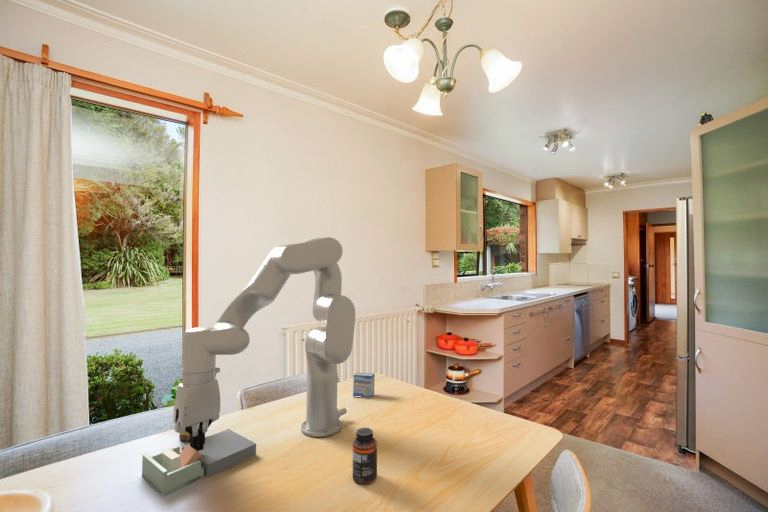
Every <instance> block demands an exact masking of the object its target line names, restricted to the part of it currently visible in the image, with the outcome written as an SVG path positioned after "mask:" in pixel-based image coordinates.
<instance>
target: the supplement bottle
mask: <svg viewBox="0 0 768 512" xmlns="http://www.w3.org/2000/svg"><path fill="white" fill-rule="evenodd" d="M355 435H356V437H355V438H354V440H353V441H352V480H353V481H354V482H355V483H356V484H358V485H364V486H365V485H369V484H372V483H374V482H375V481H376V480H377V477H378V443H377V439H375V438H374V430H373V429H372V428H370V427H360V428H359V429H357V430H356V434H355Z"/></svg>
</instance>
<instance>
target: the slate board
mask: <svg viewBox="0 0 768 512" xmlns="http://www.w3.org/2000/svg"><path fill="white" fill-rule="evenodd" d="M186 445H189V446H190V443H187V444H184V445H182V446H181V451H182V450H183V449H184V448H185V446H186ZM198 452H199V453H201V454H202V455H201V457H200V458H199V459H198V460H200V461H201V466H202V467H203V468H204V476H206V477H207V478H210V477H211V476H213V475H216V474H218V473H220V472H222V471H225V470H227V469H229V468H231V467H233V466H235V465H237V464H240V463H241V462H244V461H247V460H248V459H250V458H252V457H254V456H256V455H257V443H256V442H255V441H252V440H250V439H248V438H246V437H245V436H243V435H241V434H239V433H237V432H235V431H233V430H231V429H230V428H228V429H225V430H222V431H219V432H217V433H214V434H212V435H209V436H205V444H204V449H203V450H199V451H198ZM198 460H197V461H198Z"/></svg>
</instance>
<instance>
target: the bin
mask: <svg viewBox="0 0 768 512" xmlns="http://www.w3.org/2000/svg"><path fill="white" fill-rule="evenodd" d="M168 450H173V451H174V452H176V453H177V454H180V452H181V445H176V446H173V447H172V448H169V449H166V450H163V451H159V452H158V453H155V454H153V455H149V454H148V453H144V454H142V461H141V462H142V463H141V464H142V465H141V466H142V467H141V476H142V478H144V479H145V480H146V481H147V482H148V483H149V484H150V485H151V486H152V487H153V488H154V489H155V490H156V491H157V492H158V493H160V494H161V495H162V496H164V495H167V494H170V493H171V492H174V491H175V490H178V489H180V488H182V487H184V486H187V485H188V484H191V483H193V482H196V481H197V480H199V479H202V478H203V477H205V475H204V468H203V467H202V466H201V461H200V460H198V461H196V462H194V463H191V464H189V465H186V466H184V467H182V468H179V469H177V470H175V471H172V472H170V473H167V470H166V469H165V468H163V467H162V453H163V452H165V451H168Z"/></svg>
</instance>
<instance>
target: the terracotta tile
mask: <svg viewBox="0 0 768 512" xmlns="http://www.w3.org/2000/svg"><path fill="white" fill-rule="evenodd" d="M185 445H186V446H185ZM185 445H184V446H185V448H184V449H183V450H182V449H181V450H180V454H179V455H180V456H181V458H180V468H182V467H184V466H186V465H189V464H191V463H194V462H196V461H197V460H198V459H199V458H200V457H201V455H202V454H201V453H199V452H198V451H197V450H195V449H194V448H192V447H191V446H189V445H187V444H185Z"/></svg>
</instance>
